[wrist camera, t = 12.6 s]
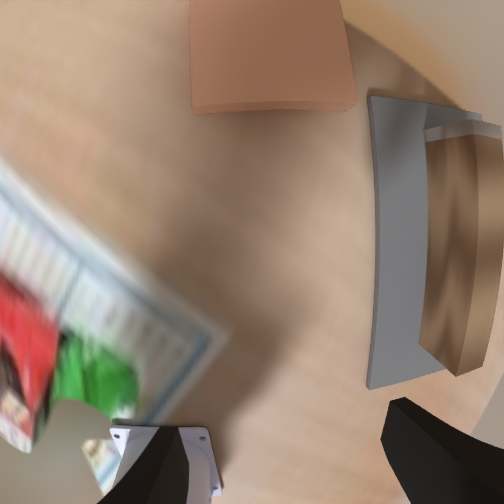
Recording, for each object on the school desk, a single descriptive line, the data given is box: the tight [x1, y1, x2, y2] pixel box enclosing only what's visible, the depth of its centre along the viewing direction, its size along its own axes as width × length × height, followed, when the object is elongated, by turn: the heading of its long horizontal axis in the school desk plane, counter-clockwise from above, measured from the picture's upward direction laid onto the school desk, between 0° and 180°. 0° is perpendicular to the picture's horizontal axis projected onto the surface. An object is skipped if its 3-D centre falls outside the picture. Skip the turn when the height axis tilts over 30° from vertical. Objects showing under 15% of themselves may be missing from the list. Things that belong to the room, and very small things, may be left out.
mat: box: [366, 96, 483, 390], centre depth 19 cm, size 20×10×1 cm, turn 4°
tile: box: [190, 0, 357, 115], centre depth 15 cm, size 2×9×9 cm
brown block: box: [418, 119, 504, 377], centre depth 16 cm, size 15×3×5 cm, turn 4°
